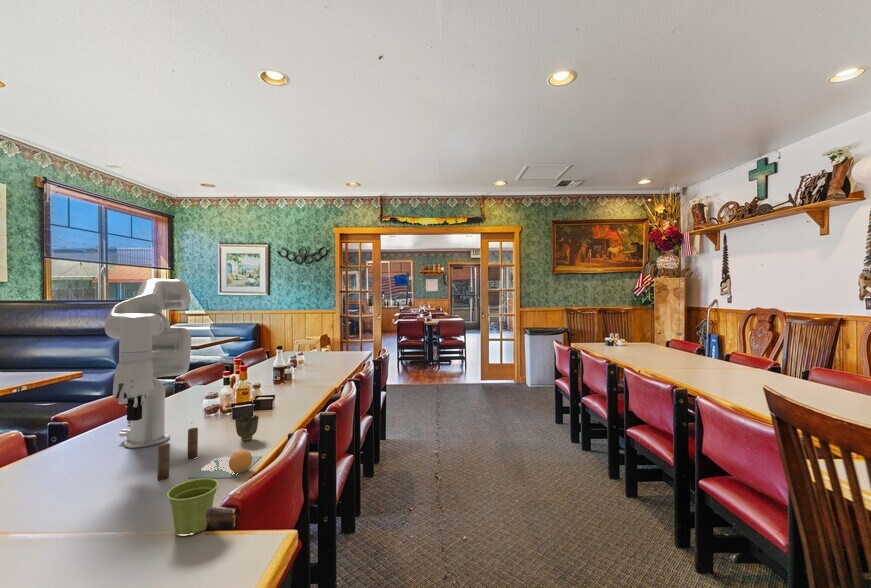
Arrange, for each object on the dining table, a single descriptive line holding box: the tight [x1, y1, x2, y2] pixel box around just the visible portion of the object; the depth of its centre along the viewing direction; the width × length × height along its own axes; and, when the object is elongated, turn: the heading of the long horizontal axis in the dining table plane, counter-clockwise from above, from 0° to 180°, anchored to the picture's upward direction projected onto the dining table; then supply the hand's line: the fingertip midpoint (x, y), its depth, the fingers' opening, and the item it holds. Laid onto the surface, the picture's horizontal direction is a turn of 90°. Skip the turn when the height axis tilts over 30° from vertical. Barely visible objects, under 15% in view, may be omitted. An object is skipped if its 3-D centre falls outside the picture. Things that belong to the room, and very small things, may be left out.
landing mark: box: [188, 455, 263, 480], centre depth 110 cm, size 14×14×1 cm
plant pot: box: [166, 478, 220, 535], centre depth 80 cm, size 9×9×9 cm
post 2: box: [187, 427, 199, 460], centre depth 116 cm, size 3×3×9 cm
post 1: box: [157, 443, 171, 481], centre depth 103 cm, size 3×3×9 cm
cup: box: [234, 414, 260, 443], centre depth 131 cm, size 8×7×8 cm
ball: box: [229, 449, 252, 473], centre depth 107 cm, size 6×6×6 cm
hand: (134, 419), depth 109 cm, fingers closed
